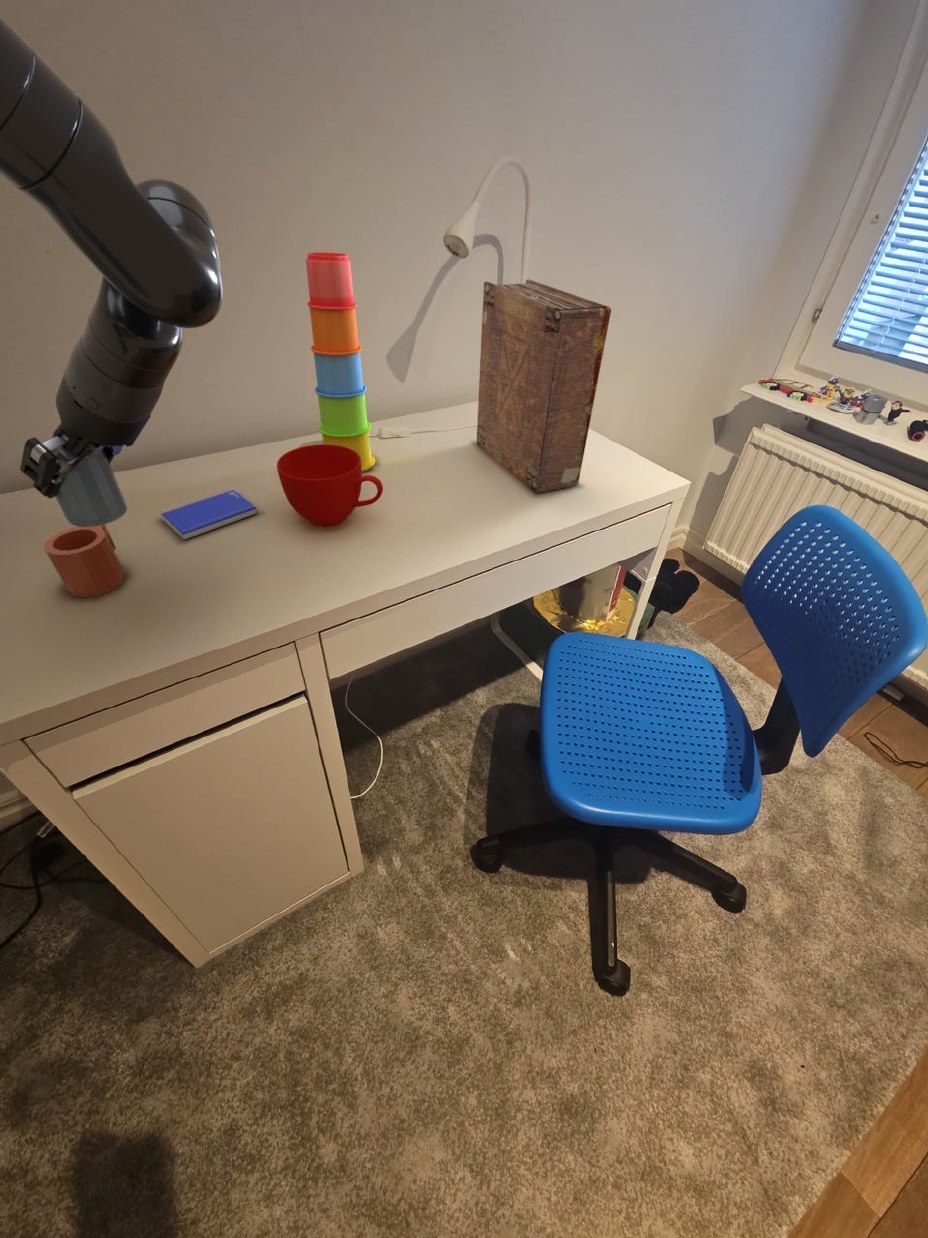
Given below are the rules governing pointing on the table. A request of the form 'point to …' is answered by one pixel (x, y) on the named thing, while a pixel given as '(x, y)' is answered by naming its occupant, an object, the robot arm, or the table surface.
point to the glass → (91, 493)
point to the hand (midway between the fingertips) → (71, 477)
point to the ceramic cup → (324, 482)
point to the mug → (85, 560)
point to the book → (538, 380)
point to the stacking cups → (337, 354)
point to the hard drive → (208, 514)
